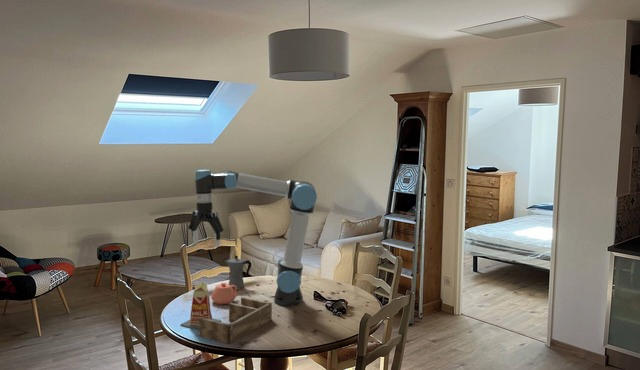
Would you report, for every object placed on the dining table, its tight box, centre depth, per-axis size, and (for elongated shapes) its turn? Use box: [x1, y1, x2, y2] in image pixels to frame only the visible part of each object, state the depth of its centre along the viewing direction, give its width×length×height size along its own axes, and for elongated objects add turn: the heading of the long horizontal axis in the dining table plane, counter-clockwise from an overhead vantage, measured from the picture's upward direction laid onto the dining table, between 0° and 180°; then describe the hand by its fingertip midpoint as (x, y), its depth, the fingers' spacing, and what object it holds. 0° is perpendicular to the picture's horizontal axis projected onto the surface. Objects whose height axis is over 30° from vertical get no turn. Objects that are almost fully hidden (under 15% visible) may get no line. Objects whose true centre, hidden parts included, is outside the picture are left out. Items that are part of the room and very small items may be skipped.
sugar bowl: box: [211, 282, 239, 306], centre depth 273 cm, size 12×14×10 cm
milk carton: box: [189, 278, 213, 326], centre depth 242 cm, size 9×9×20 cm
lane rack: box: [198, 296, 273, 345], centre depth 240 cm, size 17×32×8 cm, turn 153°
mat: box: [180, 317, 222, 331], centre depth 243 cm, size 13×13×1 cm
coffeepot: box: [224, 255, 252, 290], centre depth 297 cm, size 15×9×18 cm, turn 82°
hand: (206, 244), depth 256 cm, fingers open, 13 cm apart
